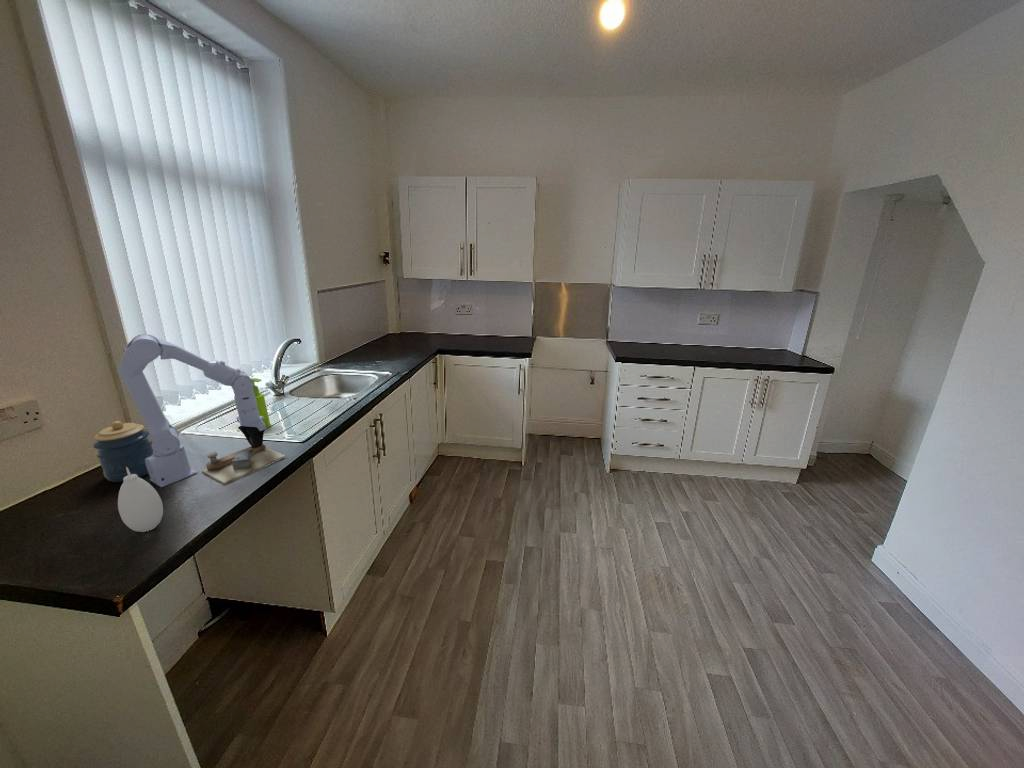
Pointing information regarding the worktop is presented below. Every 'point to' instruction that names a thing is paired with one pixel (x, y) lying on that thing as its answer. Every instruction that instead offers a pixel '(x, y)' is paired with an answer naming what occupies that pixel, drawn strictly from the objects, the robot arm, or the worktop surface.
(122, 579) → the worktop surface
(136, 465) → the canister
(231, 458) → the link
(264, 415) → the soap dispenser
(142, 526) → the air blower bulb
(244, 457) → the keeper
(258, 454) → the latch board
